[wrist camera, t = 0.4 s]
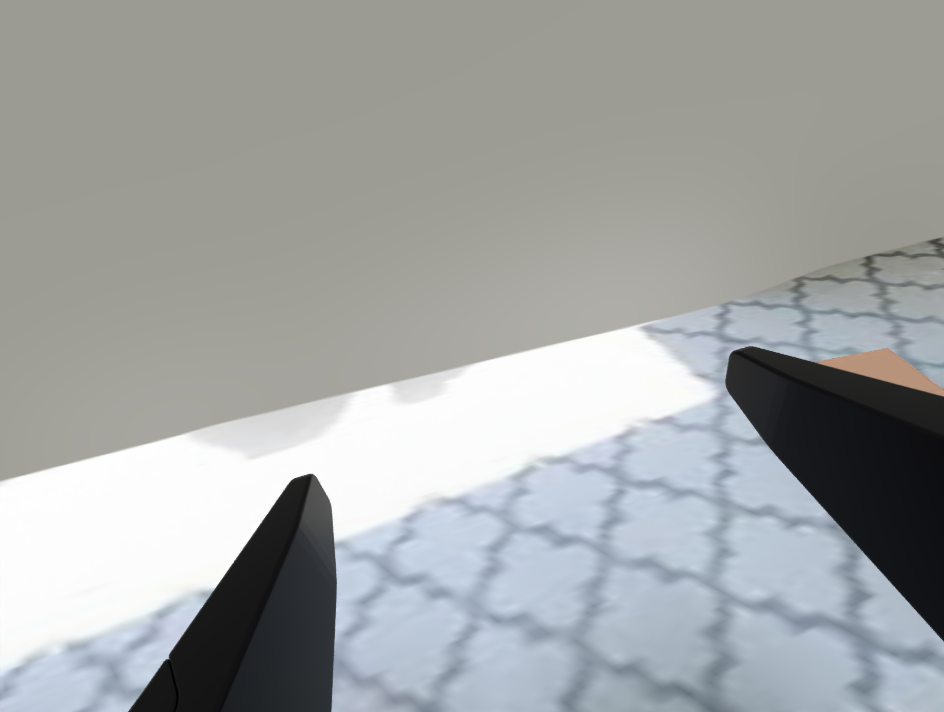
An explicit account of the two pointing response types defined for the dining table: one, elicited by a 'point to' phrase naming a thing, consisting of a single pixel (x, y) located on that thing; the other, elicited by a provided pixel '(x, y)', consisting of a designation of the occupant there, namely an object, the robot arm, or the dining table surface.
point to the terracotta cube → (885, 369)
